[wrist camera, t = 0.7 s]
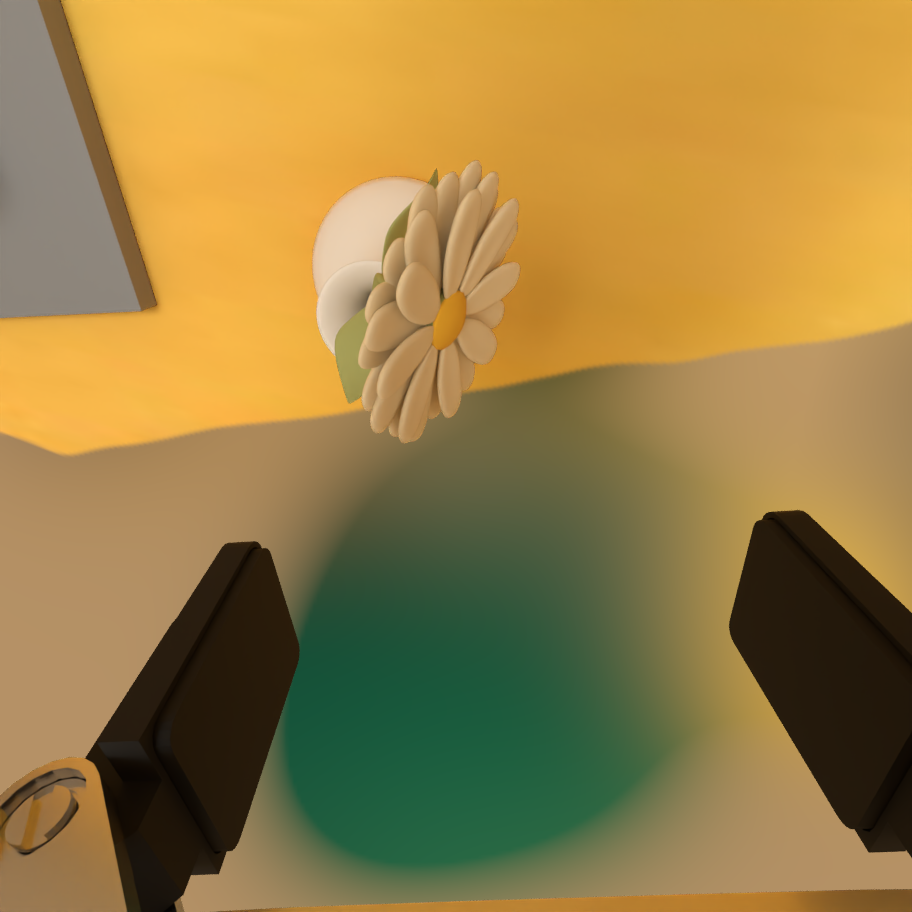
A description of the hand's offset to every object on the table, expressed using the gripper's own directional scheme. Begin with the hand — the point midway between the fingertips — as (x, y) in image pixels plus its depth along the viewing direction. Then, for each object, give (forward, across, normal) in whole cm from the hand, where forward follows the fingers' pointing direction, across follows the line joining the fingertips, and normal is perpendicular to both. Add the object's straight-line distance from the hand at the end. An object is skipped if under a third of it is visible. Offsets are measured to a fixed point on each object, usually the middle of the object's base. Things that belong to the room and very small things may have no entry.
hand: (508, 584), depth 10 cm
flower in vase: (+29, +4, -2) cm, 29 cm away
